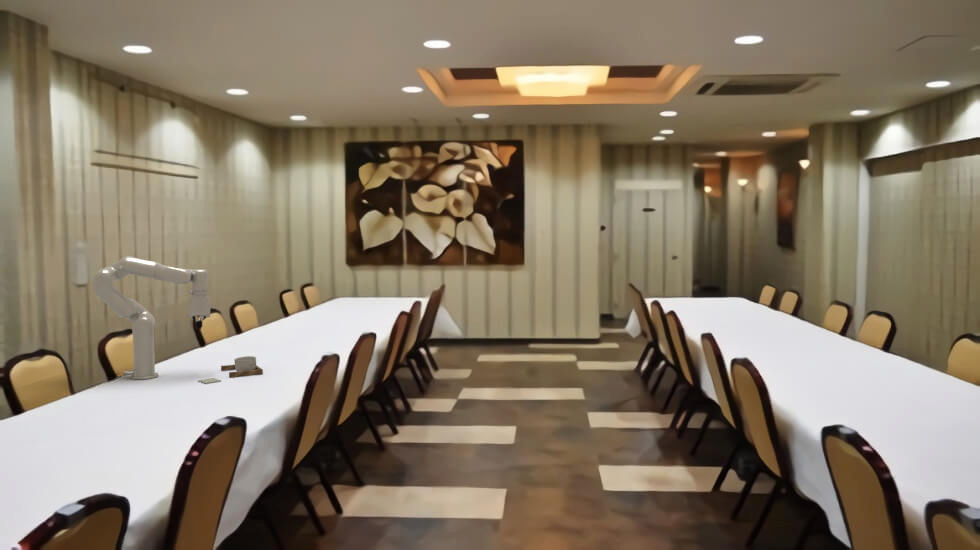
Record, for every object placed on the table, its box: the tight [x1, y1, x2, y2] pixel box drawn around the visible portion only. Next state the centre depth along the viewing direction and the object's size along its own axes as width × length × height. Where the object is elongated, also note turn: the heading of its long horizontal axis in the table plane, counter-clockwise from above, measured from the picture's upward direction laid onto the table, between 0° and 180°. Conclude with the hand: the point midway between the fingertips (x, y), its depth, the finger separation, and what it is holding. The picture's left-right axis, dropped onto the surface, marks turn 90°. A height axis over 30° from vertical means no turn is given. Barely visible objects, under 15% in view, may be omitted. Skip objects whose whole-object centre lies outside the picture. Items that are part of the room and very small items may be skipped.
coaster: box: [197, 377, 222, 385], centre depth 349 cm, size 8×8×1 cm
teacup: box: [233, 355, 257, 372], centre depth 371 cm, size 14×11×8 cm
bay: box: [220, 364, 264, 379], centre depth 371 cm, size 16×20×2 cm
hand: (198, 328), depth 364 cm, fingers closed
